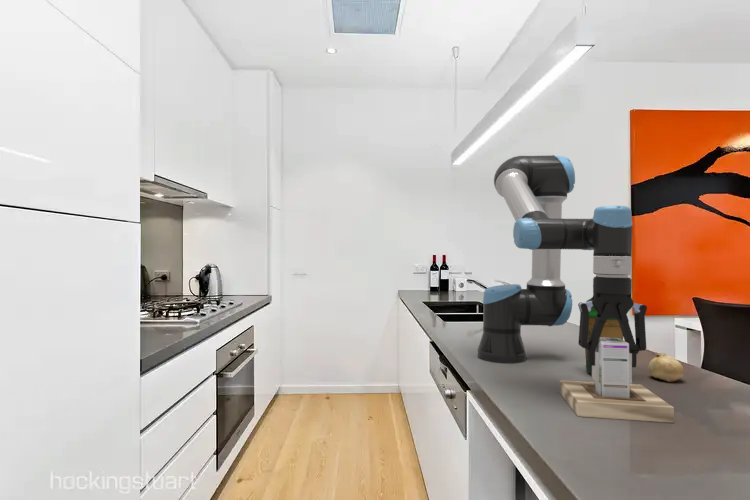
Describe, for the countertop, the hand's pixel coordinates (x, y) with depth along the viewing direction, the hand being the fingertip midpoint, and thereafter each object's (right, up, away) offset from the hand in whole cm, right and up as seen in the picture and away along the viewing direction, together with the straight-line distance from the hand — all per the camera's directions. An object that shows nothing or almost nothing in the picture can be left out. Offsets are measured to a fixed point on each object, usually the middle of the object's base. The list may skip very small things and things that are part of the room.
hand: (611, 380), depth 99 cm
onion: (+26, -6, +22) cm, 35 cm away
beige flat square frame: (0, -6, 0) cm, 6 cm away
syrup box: (0, -6, 0) cm, 6 cm away
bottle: (+12, -6, +26) cm, 29 cm away
